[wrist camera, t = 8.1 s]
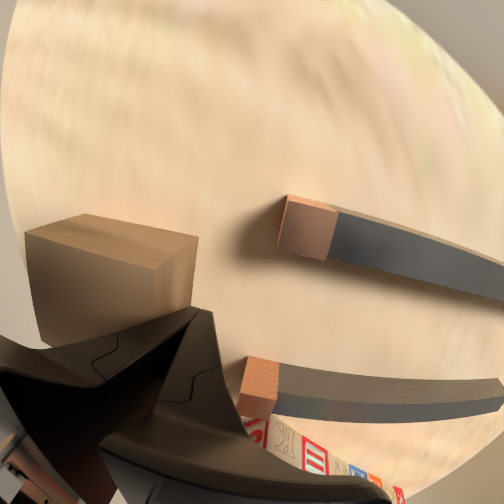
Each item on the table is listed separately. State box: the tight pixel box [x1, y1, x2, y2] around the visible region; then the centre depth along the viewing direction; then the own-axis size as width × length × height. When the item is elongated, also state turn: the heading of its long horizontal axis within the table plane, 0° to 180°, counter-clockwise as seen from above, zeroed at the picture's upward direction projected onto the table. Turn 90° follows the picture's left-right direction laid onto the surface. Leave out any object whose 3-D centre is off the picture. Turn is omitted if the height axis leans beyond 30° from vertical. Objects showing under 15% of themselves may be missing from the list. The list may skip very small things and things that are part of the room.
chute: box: [236, 194, 504, 423], centre depth 10 cm, size 9×18×2 cm, turn 79°
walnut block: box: [25, 214, 198, 348], centre depth 10 cm, size 5×6×4 cm
